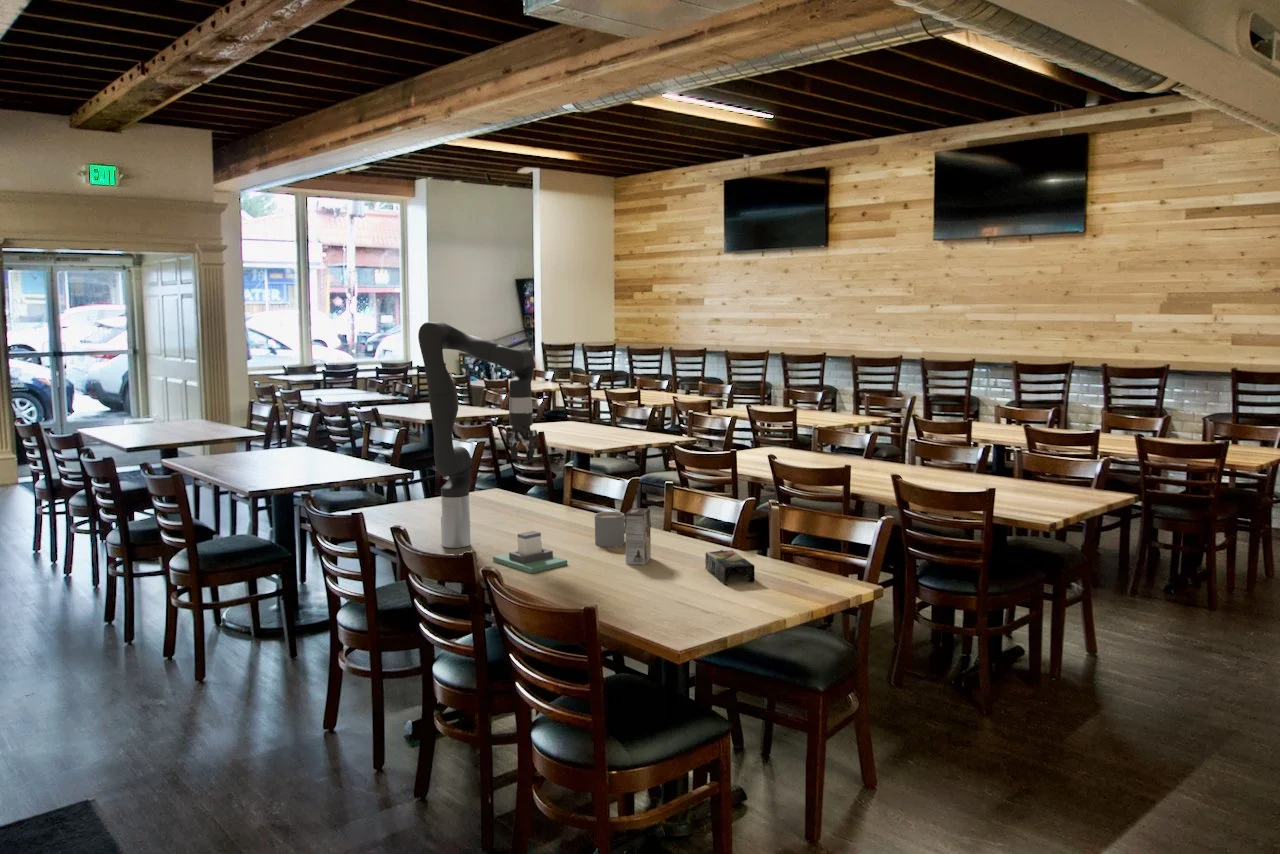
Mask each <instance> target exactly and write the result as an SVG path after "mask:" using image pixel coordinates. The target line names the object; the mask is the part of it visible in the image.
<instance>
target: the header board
mask: <svg viewBox="0 0 1280 854" xmlns="http://www.w3.org/2000/svg"><path fill="white" fill-rule="evenodd" d="M492 562H495V563H497V562H498V564H500V563H501V564H500V565H503V564H504V566H506V565H507V566H506V567H509V566H510V568H512V567H513V569H515V568H516V570H518V569H519V570H518V571H522V570H523V571H522V572H525V573H528V574H534V573H535V574H536V573H539V572H538V571H540V572H543V570H544V571H547V569H548V570H552V569H556V568H560V566H561V567H564V565H565V566H568V559H564V558H561V557H558V556H554V553H553V550H550V549H547V548H543V547H542V552H540V553H536V554H531V555H527V556H524V555H521V554H518V550H515V551H511V552H507V553H503V554H499V555H494V556H492ZM555 567H556V568H555ZM551 568H552V569H551Z"/></svg>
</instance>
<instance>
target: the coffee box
mask: <svg viewBox="0 0 1280 854" xmlns="http://www.w3.org/2000/svg"><path fill="white" fill-rule="evenodd" d="M624 517H625V523H624V526H625V530H626V533H625V564H626V565H639V564H644V565H646V564H647V563H648V562H649V560H650V559H651V557H652V553H651V550H652V549H651V547H652V545H651V542H652V541H651V508H643V507H641V508H639V507H637V508H635V507H633V508H630V509H629V510H628V511H627V512H626V513H624ZM644 565H643V566H644Z"/></svg>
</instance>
